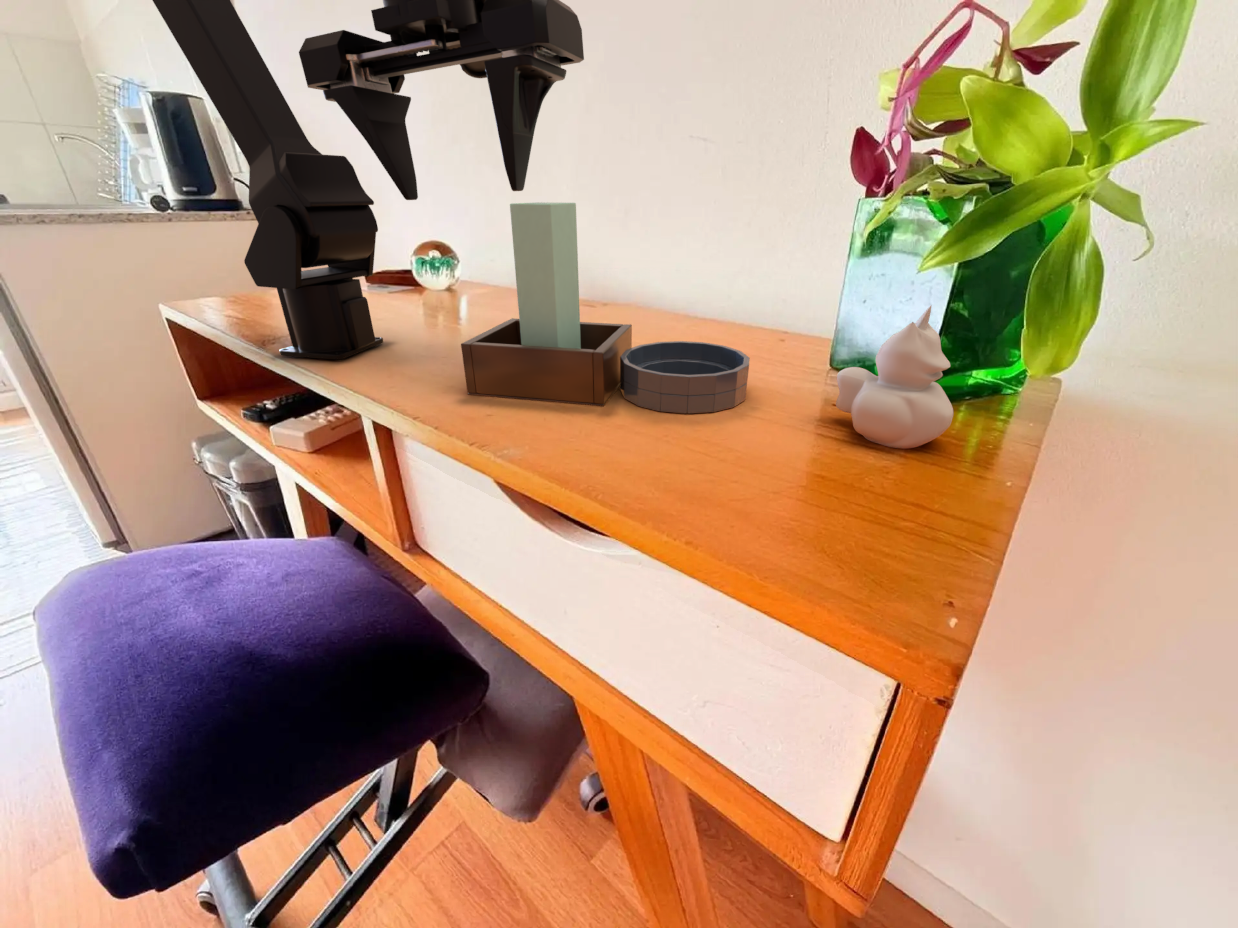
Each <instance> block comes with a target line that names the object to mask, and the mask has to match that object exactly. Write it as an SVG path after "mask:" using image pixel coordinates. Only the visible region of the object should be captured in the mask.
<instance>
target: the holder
mask: <svg viewBox="0 0 1238 928" xmlns="http://www.w3.org/2000/svg"><path fill="white" fill-rule="evenodd" d="M632 335H633V326H632V324H628V323H624V324H623V323H608V322H588V321H580V339H581V349H576V348H561V347H545V346H529V345H522V344H521V332H520V321H519V318H513V317H511V318H509V319H508V320H506V321H504V322H502V323H500V324H497V325H496V326H494V327H492V328H490V329H488V330H486V331H483V332H482V333H479V334H478V335H476V336H473V337H472V338H470V339H468V340H465V341H464V342H461V343H460V347H461V355H462V363H463V364H462V365H463V370H464V378H465V385H466V392H467V395H468V396H475V397H486V398H498V399H499V398H500V399H509V400H522V401H533V402H543V403H545V402H546V403H555V404H567V405H578V406H591V407H605V406H606V405H607V403H608V402H610V400H611V398H612V397H613V396H614V394H616V392H617V391H618V389H620V356H621V355H622V354H623V353H624V352H625V351H626V350H628V349H630V348H633V347H632V346H633V345H632V344H633V342H632V340H633V338H632V337H633V336H632Z"/></svg>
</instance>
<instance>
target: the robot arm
mask: <svg viewBox="0 0 1238 928" xmlns="http://www.w3.org/2000/svg"><path fill="white" fill-rule="evenodd" d="M152 2H153V4H154V7H156V10H157V11H158V12H159V14H160V16H161V18H162V19H163V21H164V22H165V24H166V26H167V27H168V29H169V31H170V33H171V35H172V36H173V38H174V39H175V41H176V42H177V45H178V46H179V48H180V50H181V51H182V53H183V55H184V56H185V58H186V60H187V62H188V63H189V65H190V67H191V69H192V70H193V72H194V74H195V75H196V77H197V79H198V80H199V82H200V84H201V85H202V87H203V89H204V90H205V92H206V94H207V95H208V97H209V99H210V101H211V102H212V104H213V106H214V107H215V109H216V111H217V113H218V114H219V116H220V118H221V119H222V121H223V123H224V124H225V126H226V128H227V129H228V131H229V133H230V135H231V136H232V138H233V139H234V141H235V143H236V145H237V146H238V148H239V150H240V152H241V153H242V155H243V157H244V158H245V161H246V162H247V164H248V167H249V171H248V172H249V173H248V174H249V175H248V176H249V178H248V204H249V207H250V209H251V211H252V213H253V215H254V218H255V219H256V222H257V227H256V228H255V232H254V234H253V236H252V240H251V242H250V244H249V247H248V249H247V252H246V255H245V257H244V260H243V262H244V265H245V267H246V269H247V271H248V273H249V274H250V275H249V276H251V279H252V280H253V282H254V284H255V286H256V287H261V288H273V289H276V291H277V295H278V298H279V302H280V305H281V309H282V313H283V317H284V320H285V324H286V327H287V331H288V335H289V338H290V342H291V345H290V346H287V347H284V348H280V349H279V355H280V356H282V357H283V356H285V357H295V358H311V359H321V360H344V359H346V358H348V357H351V356H353V355H356V354H359V353H361V352H363V351H366V350H368V349H372V348H374V347H376V346H379V345H381V344H383V343H384V337H382V336H375V332H374V327H373V322H372V316H371V310H370V308H369V301H368V299H367V297H366V296H364V295H363V290H362V285H361V280H360V279H359V278H361V277H366V278H368V277H372V276H373V275H374V265H375V264H374V263H375V251H376V239H377V238H376V237H377V233H378V231H379V227H378V222H377V219H376V217H375V214H374V212H373V210H372V208H371V206H374V205H375V201H374V200H373V199H372V198H371V197H370V196H369V195H368V193H367V192H366V191H365V189H364V188H363V186H362V184H361V183H360V179H359V178H358V175H357V173H356V170H355V168H354V166H353V164H352V163H351V162H350V161H349V159H348V158H347V156H345V155H335V154H323V153H321V152H320V151H319V150H318V149H316V148H315V147H314V145H312V144H311V142H310V141H309V139H308V137H307V136H306V134H305V131H304V130H303V128H302V127H301V125H300V123H299V121H298V120H297V118H296V116H295V114H294V113H293V111H292V109H291V107H290V105H289V103H288V102H287V100H286V98H285V97H284V95H283V93H282V91H281V89H280V87H279V86H278V84H277V82H276V80H275V79H274V76H273V75H272V73H271V71H270V69H269V67H268V66H267V63H266V62H265V60H264V59H263V57H262V55H261V53H260V52H259V50H258V48H257V46H256V45H255V43H254V40H253V39H252V37H251V35H250V33H249V32H248V30H247V28H246V26H245V24H244V23H243V21H242V19H241V18H240V16H239V14H238V12H237V10H236V8H235V7H234V5H233V3H232V1H231V0H152ZM382 3H383V6H382V7H379V8H374V9H371V10H370V12H371V17H372V22H373V27H374V31H376V32H379V33H382V34H385V35H388V36H389V37H390V40H388V41H382V40H378V39H374V38H371V37H369V36H365V35H361V34H359V33H356V32H352V31H349V30H346V29H341V30H337V31H333V32H328V33H324V34H319V35H315V36H311V37H306V38H304V40H303V43H302V45H301V47H300V49H299V51H298V55H299V58H300V63H301V67H302V70H303V75H304V78H305V81H306V85H307V88H308V89H313V90H320V91H322V94H323V97H324V99H325V100H326V101H328V102H334V103H336V104H337V105H338V107H339V108H340V109H341V110H342V111H343V113H344V114H345V116H346V117H347V118H348V120H350V122H351V123H352V124H353V126H354V127H355V128H356V130H357V131H358V132H359V133H360V135H361V136H362V138H363V139H364V140H365V141H366V143H367V144H368V146H369V147H370V149H371V150H372V152H373V154H374V155H375V157H376V158H377V159H378V161H379V163H381V165H382V167H383V168H384V170H385V171H386V173H387V174H388V176H389V177H390V179H391V181H392V182H393V183H394V185H395V187H396V188H397V189H398V191H399V192H400V194H401V195H402V197H403V198H404V199H405V200H406V201H417V200H418V198H419V194H418V182H417V175H416V170H415V164H414V160H413V159H414V158H413V154H412V149H411V146H410V144H411V143H410V139H409V134H408V130H407V129H408V128H407V123H406V117H407V114H408V112H409V109H410V105H411V101H412V97H411V96H407V95H403V94H399V93H400V91H401V90H402V87H403V85H404V82H405V79H406V78H405V75H408V74H409V75H410V74H414V73H420V72H425V71H431V70H436V69H443V68H447V67H453V66H458V65H459V66H460V68H461V70H462V72H463V73H465V74H466V75H468V76H469V77H472V78H474V79H486V78H487V83H488V89H489V94H490V100H491V104H492V109H493V114H494V119H495V120H494V121H495V124H496V130H497V135H498V140H499V145H500V149H501V156H502V161H503V165H504V169H505V173H506V177H507V179H508V183H509V186H510V190H511V191H512V192H523V191H524V189H525V185H526V178H527V174H528V169H529V163H530V157H531V153H532V152H531V150H532V145H533V141H534V135H535V130H536V126H537V121H538V117H539V114H540V112H541V108H542V105H543V101H544V100H545V98H546V96H547V94H548V93H549V92H550V90H551V88H552V87H553V85H554V84H555V83H556V82H560V81H563V80H565V78H566V76H567V69H565V68H563V67H562V66H568V65H573V64H580V63H581V62H583V61H584V60H585V54H584V39H583V29H582V26H581V22H580V19H579V17H578V15H577V14H576V12H575V11H574V10H573V9H572V8H571V7H570V6H569V5H568V4H566V3H565V2H563V1H561V0H382ZM424 52H428V53H425V54H420V55H418V54H419V53H424ZM324 266H326V267H324ZM316 267H319V268H316ZM309 268H312V269H309ZM302 269H306V270H302Z"/></svg>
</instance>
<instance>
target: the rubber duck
mask: <svg viewBox="0 0 1238 928" xmlns="http://www.w3.org/2000/svg"><path fill="white" fill-rule="evenodd" d="M931 313H932V305H930V306H929V307H928V308H927V309H926V310H925V311H924V312H923V313H922V315H921V316H920V317H919V318H918V319H917V320H916V322H914V321H912V322H911V323H909V324H907V325H906V326H905V327H903V328H902V329H901V330H900V331H898V332H895V333H893V334H892V335H891V336H890V337H889V338H887V339H886V340H885V341H884V342H883V343H882V344H881V345H880V347H879V349H878V352H877V353H876V356H875V364H876V369H877V370H876V371H877V375H876V374H874V373H872V372H871V371H869V370H868V369H866V368H862V367H859V366H849V367H845V368H843V369H841V370H839V372H838V373H837V374H836V382H837V386H838V396H837V398H836V401H835V407H836V408H837V409H838V411H841V412H844V413H847V414H850V416H851V420H852V426H853V429H854V430H855V432H856V433H858V434H859V435H862V436H863V437H864V438H865V439H866V440H867V441H869V442H872V443H875V444H879V445H881V446H885V447H888V448H892V449H893V448H894V449H901V450H902V449H903V450H906V449H914V448H917V447H921V446H923V445H925V444H928V443H930V442H931V441H934V440H935V439H937V438H938V437H940V436H942V435H943V434H944V433H945V432H946V431H947V430H948V429H949V428H950V427H951V424H952V421H953V418H954V408H953V405H952V403H951V401H950V399H949V397H948V395H947V394H946V392H945V390H944V389H943V387H942V386H941V385H940V384H939V383H938V382H936V381H937V380H939V379H941V378H942V377H943V376H944V374H943V371H946V370H948V369H949V368H951V362H950V361H949V360H948V358H947V357H946V355H945V354H944V352H943V351H942V344H941V343H942V341H941V337H940V334H939V333H938V331H936V330H935V329H934V327H932V325H931V324H930V323H929V322H930V318H931Z"/></svg>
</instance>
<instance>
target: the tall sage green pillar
mask: <svg viewBox="0 0 1238 928" xmlns="http://www.w3.org/2000/svg"><path fill="white" fill-rule="evenodd" d="M509 211H510V212H509V213H510V225H511V234H512V235H511V236H512V246H513V248H512V249H513V258H514V259H513V260H514V273H515V283H516V294H517V308H518V319H519V321H520V332H521V344H522V345H529V346H545V347H561V348H576V349H581V339H580V322H581V314H580V312H581V311H580V310H581V309H580V289H579V288H580V285H579V283H580V282H579V253H578V227H577V203H576V202H517V203H516V202H515V203H513V202H512V203H510V204H509Z"/></svg>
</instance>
